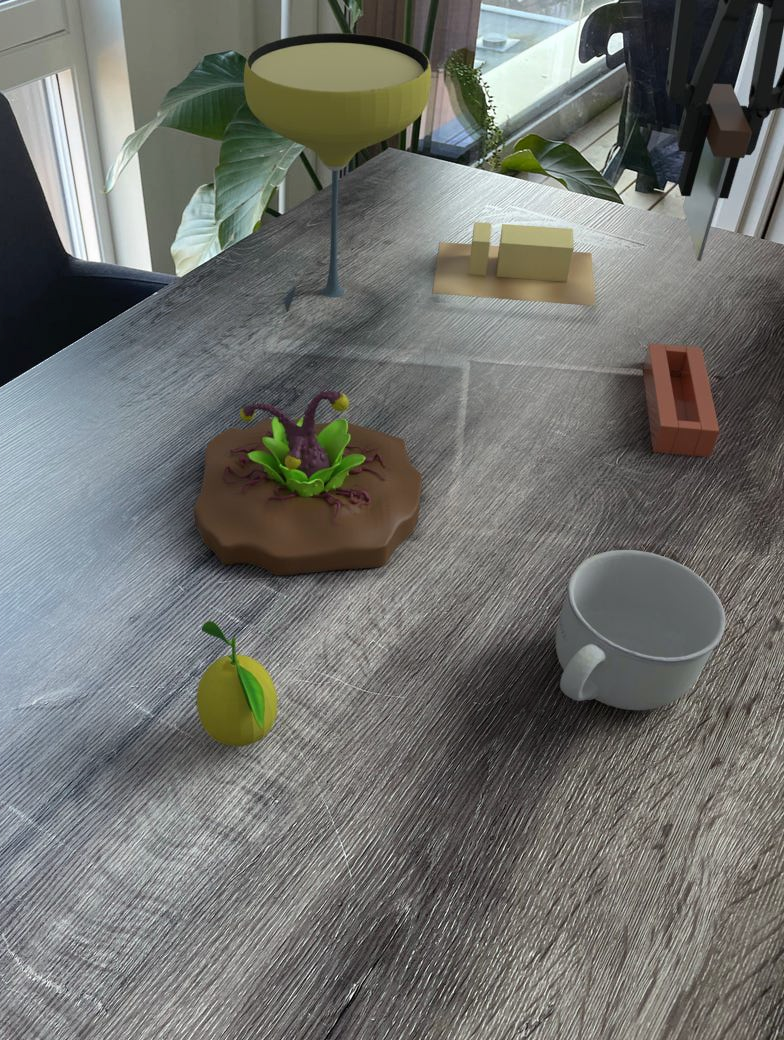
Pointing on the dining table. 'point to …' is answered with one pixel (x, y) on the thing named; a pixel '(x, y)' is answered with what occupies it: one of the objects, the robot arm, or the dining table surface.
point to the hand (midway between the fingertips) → (702, 190)
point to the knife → (715, 161)
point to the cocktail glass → (336, 100)
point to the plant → (306, 493)
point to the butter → (535, 252)
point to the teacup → (635, 630)
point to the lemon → (235, 697)
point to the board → (510, 279)
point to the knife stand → (679, 400)
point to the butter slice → (480, 248)
